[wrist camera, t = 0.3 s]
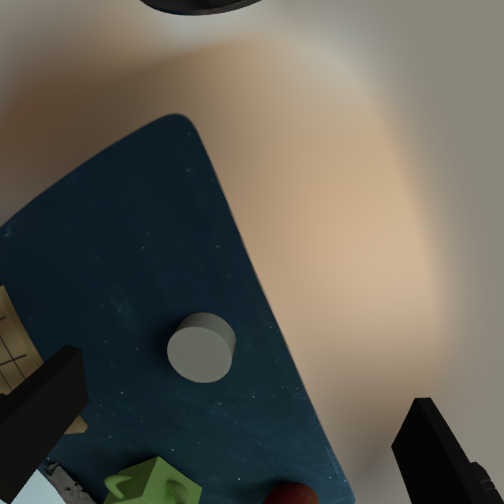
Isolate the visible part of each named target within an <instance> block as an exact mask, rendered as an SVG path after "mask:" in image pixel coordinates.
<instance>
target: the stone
mask: <svg viewBox="0 0 504 504" xmlns="http://www.w3.org/2000/svg"><path fill="white" fill-rule="evenodd" d="M58 464H59V463H58V462H57V463H55V464H52V465H50V466H49V471H50V470H52V469H54V468H55V467H56V466H57V465H58ZM43 466H44V465H43ZM46 467H47V466H46ZM46 467H45V466H44V470H45V472H46V474H47V478H48V479H49V480H50V482H51V484H52V485H53V486H54V487H55V489H56V490H57V491H58V493H59V495H60V496H61V497H62V498H63V500H64V501H65V503H66V504H96V503H95V502H94V501H93V500H92V499H91V497H90V496H89V495H88V493H84V492H82V491H81V490H82V489H84V488H82V487H81V486H80V485H79V483H78V485H77V486H75V483H77V482H75V481H73V480H72V479H71V478H70V477H69V476H68V474H67V473H66V472H65V471H64V470H63V469H62V468H61V467H60V466H58V467H56V469H55V471H54V472H53V475H52V474H51V473H50V472H48V471H47V470H46ZM67 487H69V489H70V491H69V490H67Z"/></svg>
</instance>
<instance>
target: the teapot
mask: <svg viewBox="0 0 504 504" xmlns="http://www.w3.org/2000/svg"><path fill="white" fill-rule="evenodd" d="M105 485H106V487H107V488H108V489H109V490H110V491H109V493H108V495H107V497H106V499H105V501H104V503H103V504H198V502H199V498H200V494H201V490H202V488H201V487H200V486H199V485H197V484H196V483H194V482H193V481H191V480H190V479H188V478H187V477H186V476H184V475H183V474H182V473H180V472H179V471H177V470H176V469H175V468H173V467H172V466H171V465H169V464H168V463H167V462H166V461H164V460H163V459H162V458H160V457H159V456H157V457H155V458H153V459H150V460H148V461H145V462H142V463H140V464H137V465H135V466H132V467H129V468H127V469H124V470H121V471H119V473H118V475H112V476H109V477H107V478H106V479H105Z"/></svg>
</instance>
